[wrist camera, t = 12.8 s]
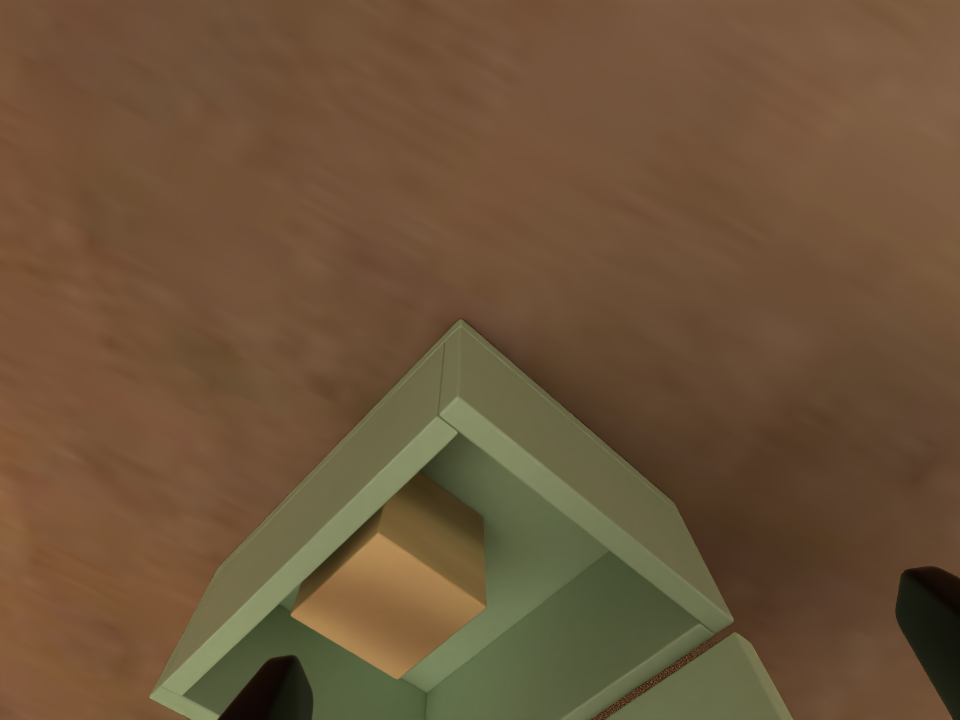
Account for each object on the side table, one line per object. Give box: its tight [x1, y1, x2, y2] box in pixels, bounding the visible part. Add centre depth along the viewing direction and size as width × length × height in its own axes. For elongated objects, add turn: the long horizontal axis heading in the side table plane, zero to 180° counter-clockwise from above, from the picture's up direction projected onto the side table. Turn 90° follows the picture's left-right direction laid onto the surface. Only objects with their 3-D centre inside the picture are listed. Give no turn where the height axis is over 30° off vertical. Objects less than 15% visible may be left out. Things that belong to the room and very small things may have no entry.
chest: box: [149, 319, 734, 720], centre depth 19 cm, size 10×13×5 cm
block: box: [291, 471, 487, 679], centre depth 19 cm, size 4×4×4 cm
